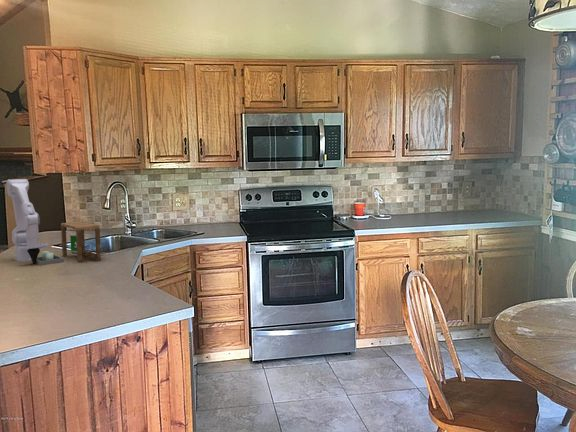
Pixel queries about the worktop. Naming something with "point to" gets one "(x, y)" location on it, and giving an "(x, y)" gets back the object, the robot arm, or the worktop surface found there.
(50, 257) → the mint green capsule
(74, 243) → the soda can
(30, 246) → the robot arm
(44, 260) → the pale green rounded cylinder
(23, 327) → the worktop surface
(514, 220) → the worktop surface
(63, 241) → the small wooden stool
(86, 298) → the worktop surface
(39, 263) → the tray
